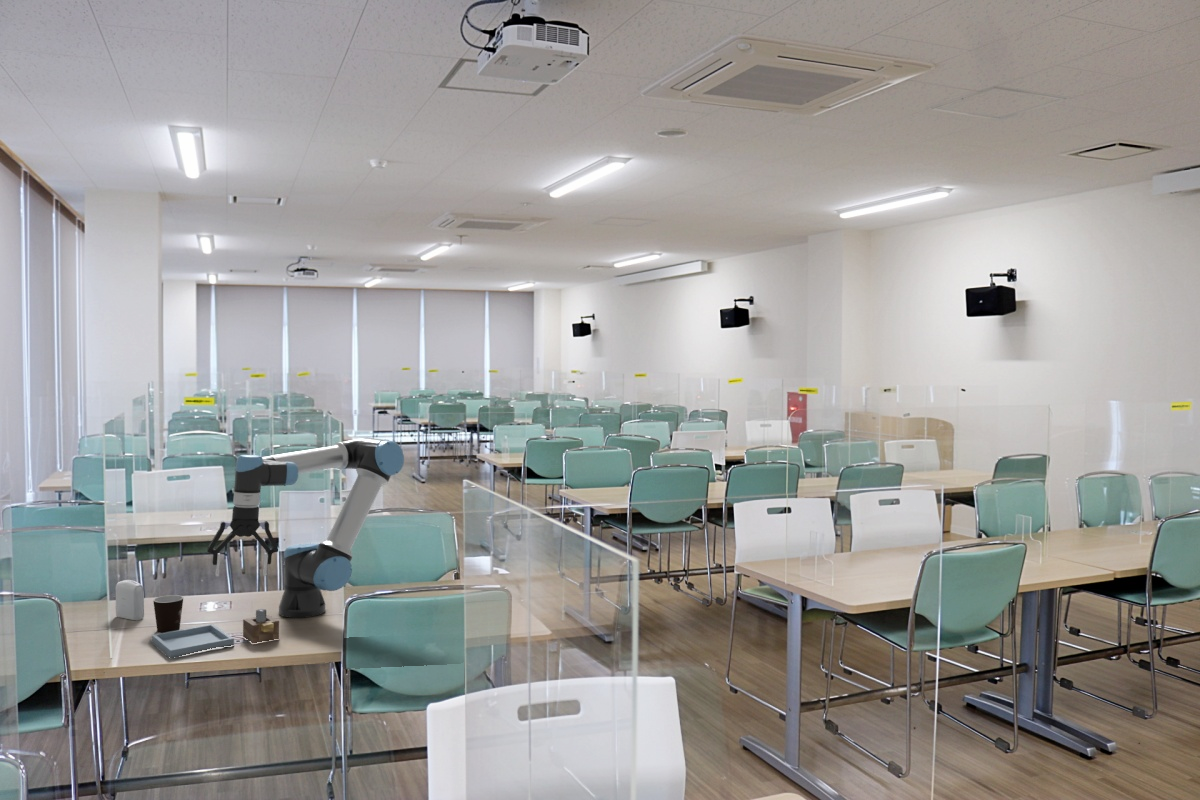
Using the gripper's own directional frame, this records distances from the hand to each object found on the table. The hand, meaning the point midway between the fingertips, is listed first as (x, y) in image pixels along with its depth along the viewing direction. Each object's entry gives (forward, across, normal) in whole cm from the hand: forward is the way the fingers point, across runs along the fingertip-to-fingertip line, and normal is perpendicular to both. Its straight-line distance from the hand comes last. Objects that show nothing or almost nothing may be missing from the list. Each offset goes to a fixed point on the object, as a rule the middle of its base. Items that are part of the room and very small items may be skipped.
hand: (241, 575), depth 280 cm
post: (+20, +7, 0) cm, 21 cm away
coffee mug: (+21, -18, +21) cm, 35 cm away
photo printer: (+21, -30, +38) cm, 53 cm away
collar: (+20, +7, 0) cm, 21 cm away
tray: (+21, -12, +2) cm, 24 cm away
